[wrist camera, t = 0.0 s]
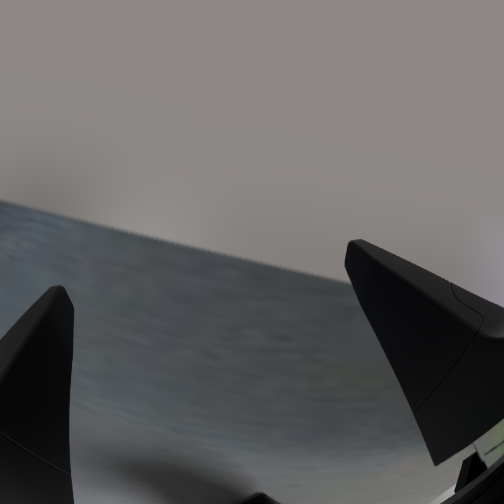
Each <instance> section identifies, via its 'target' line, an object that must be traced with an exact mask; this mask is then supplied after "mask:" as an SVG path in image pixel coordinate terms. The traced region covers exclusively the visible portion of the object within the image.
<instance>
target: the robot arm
mask: <svg viewBox="0 0 504 504" xmlns="http://www.w3.org/2000/svg"><path fill="white" fill-rule="evenodd" d="M345 268H346V271H347V273H348V276H349V278H350V281H351V283H352V285H353V288H354V290H355V293H356V295H357V298H358V300H359V303H360V305H361V307H362V309H363V311H364V313H365V315H366V317H367V319H368V321H369V323H370V325H371V326H372V328H373V330H374V332H375V334H376V336H377V338H378V340H379V342H380V344H381V346H382V348H383V350H384V352H385V354H386V356H387V358H388V360H389V362H390V364H391V367H392V369H393V371H394V373H395V375H396V377H397V379H398V381H399V383H400V386H401V388H402V390H403V392H404V394H405V396H406V399H407V401H408V403H409V405H410V408H411V410H412V412H413V413H414V414H413V415H414V417H415V419H416V422H417V424H418V426H419V429H420V431H421V433H422V436H423V438H424V441H425V443H426V446H427V448H428V451H429V453H430V456H431V458H432V461H433V463H434V465H435V466H438V465H439V464H441V463H443V462H444V461H446V460H447V459H449V458H451V457H452V456H454V455H455V454H457V453H458V452H460V451H461V450H463V449H464V448H466V447H467V446H469V445H470V444H473V446H474V448H475V450H476V451H475V452H474V453H473V454H472V455H470V456H469V457H468V458H466V459H465V460H463V463H462V467H461V470H460V474H459V477H458V481H457V484H456V487H455V490H454V492H455V494H454V495H453V496H451V497H450V498H448V499H447V500H445V501H444V502H442V503H441V504H504V308H503V307H501V306H499V305H497V304H495V303H492V302H490V301H488V300H486V299H484V298H482V297H479V296H477V295H475V294H473V293H471V292H469V291H467V290H465V289H463V288H461V287H459V286H457V285H455V284H453V283H451V282H450V283H449V281H447V280H445V279H443V278H441V277H439V276H438V275H435V274H434V273H432V272H429V271H428V270H426V269H424V268H421V267H419V266H417V265H415V264H413V263H411V262H409V261H407V260H405V259H403V258H401V257H399V256H396V255H395V254H392V253H390V252H388V251H386V250H384V249H382V248H379V247H377V246H375V245H373V244H371V243H369V242H367V241H364V240H362V239H357V240H351V241H349V243H348V246H347V251H346V257H345ZM73 331H74V307H73V304H72V302H71V300H70V298H69V296H68V294H67V292H66V290H65V288H64V287H63V286H61V285H59V286H52V287H50V288H49V289H48V290H47V291H46V292H45V293H44V294H43V295H42V296H41V297H40V298H39V299H38V300H37V301H36V302H35V303H34V304H33V305H32V306H31V307H30V308H29V309H28V310H27V311H26V312H25V313H24V315H23V316H22V317H21V318H20V319H19V320H18V321H17V322H16V323H15V324H14V325H13V326H12V327H11V329H10V330H9V331H8V332H7V333H6V334H5V335H4V336H3V338H2V339H1V340H0V504H74V498H73V489H72V478H71V467H70V446H69V408H70V386H71V372H72V361H73ZM244 504H279V503H278V502H276V501H275V500H273V499H271V498H270V497H268V496H267V495H260V496H258V497H256V498H254V499H252V500H250V501H248V502H246V503H244Z"/></svg>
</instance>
